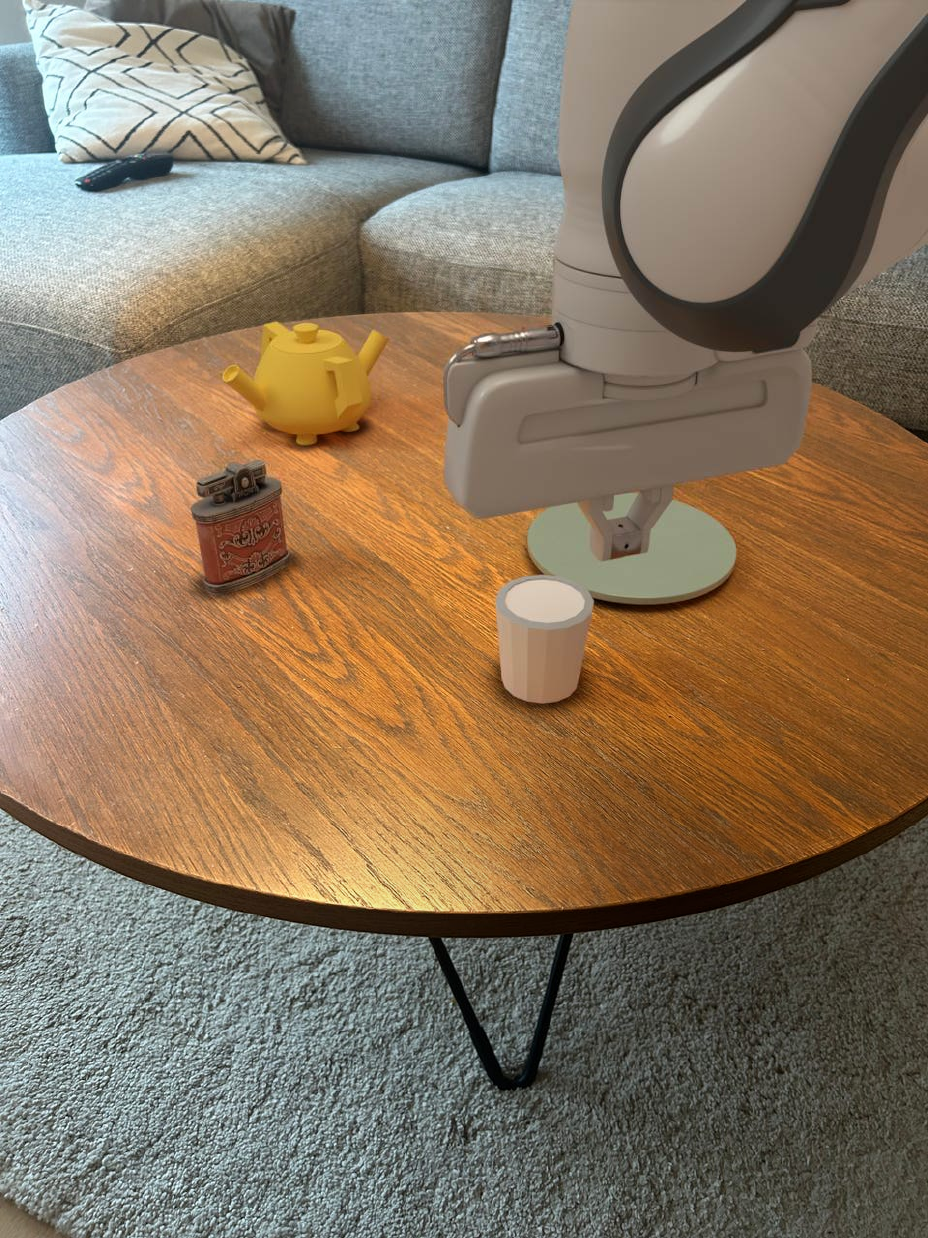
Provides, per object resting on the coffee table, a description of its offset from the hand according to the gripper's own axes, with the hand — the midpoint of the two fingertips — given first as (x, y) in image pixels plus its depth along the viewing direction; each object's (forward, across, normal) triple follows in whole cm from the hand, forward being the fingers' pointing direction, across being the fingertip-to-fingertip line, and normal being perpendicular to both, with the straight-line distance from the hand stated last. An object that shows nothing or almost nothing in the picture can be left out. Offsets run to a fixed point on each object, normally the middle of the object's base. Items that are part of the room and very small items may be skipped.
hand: (618, 552), depth 58 cm
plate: (+15, +14, +22) cm, 30 cm away
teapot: (+15, -6, +58) cm, 61 cm away
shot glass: (+16, -1, +9) cm, 18 cm away
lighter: (+15, -18, +30) cm, 39 cm away
